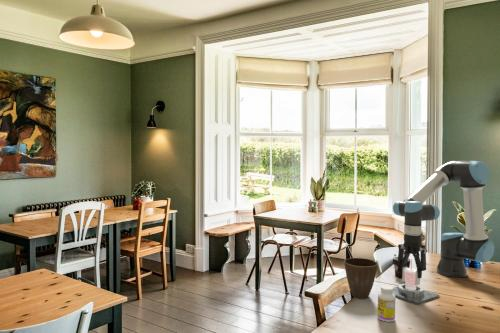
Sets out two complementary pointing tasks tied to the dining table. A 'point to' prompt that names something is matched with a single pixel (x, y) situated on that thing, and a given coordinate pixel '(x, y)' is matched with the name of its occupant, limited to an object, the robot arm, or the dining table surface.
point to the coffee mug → (399, 267)
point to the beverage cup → (410, 278)
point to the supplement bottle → (386, 304)
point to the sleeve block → (413, 294)
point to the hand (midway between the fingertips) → (411, 282)
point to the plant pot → (360, 276)
